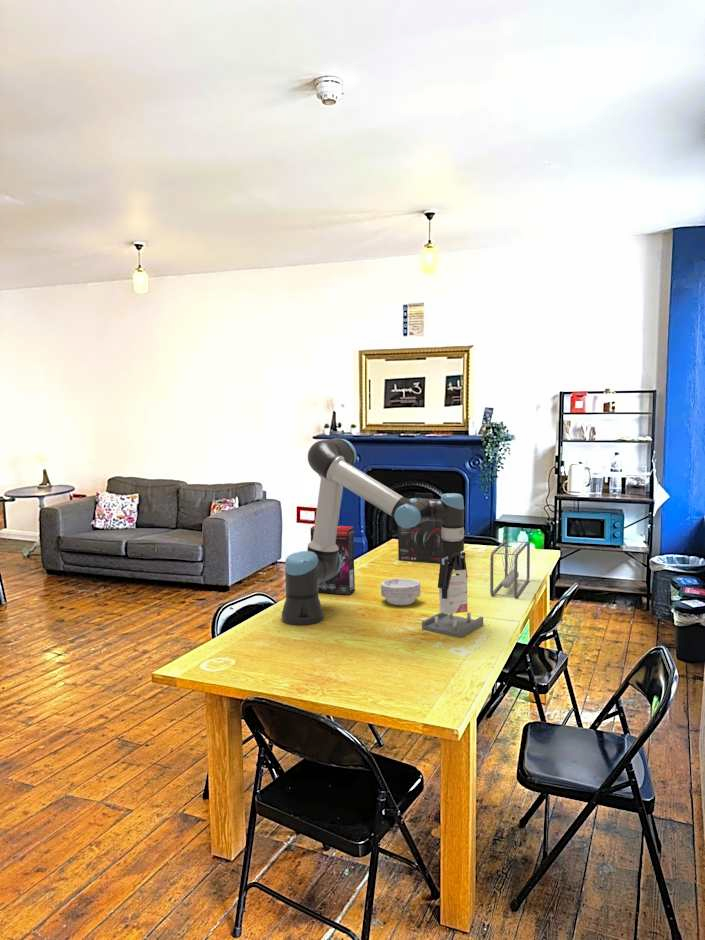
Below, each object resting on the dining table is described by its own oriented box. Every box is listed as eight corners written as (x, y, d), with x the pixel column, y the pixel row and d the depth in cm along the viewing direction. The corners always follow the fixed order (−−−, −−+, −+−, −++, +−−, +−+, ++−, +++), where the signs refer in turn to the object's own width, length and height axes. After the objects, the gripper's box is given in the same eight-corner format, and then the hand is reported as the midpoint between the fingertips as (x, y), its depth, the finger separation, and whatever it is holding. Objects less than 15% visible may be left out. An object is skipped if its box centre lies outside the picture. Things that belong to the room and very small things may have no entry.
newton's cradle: (516, 599, 270) (517, 554, 269) (490, 596, 274) (490, 552, 273) (529, 581, 298) (530, 540, 296) (505, 579, 302) (505, 538, 300)
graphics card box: (310, 592, 284) (309, 527, 282) (317, 588, 291) (315, 524, 288) (350, 595, 279) (348, 529, 276) (355, 591, 285) (354, 526, 283)
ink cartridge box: (461, 608, 241) (461, 566, 240) (467, 612, 236) (467, 569, 235) (438, 610, 239) (438, 568, 237) (444, 614, 234) (444, 571, 233)
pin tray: (461, 637, 227) (461, 625, 227) (422, 629, 236) (421, 617, 236) (483, 624, 240) (483, 612, 240) (445, 617, 249) (445, 605, 249)
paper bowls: (392, 595, 279) (392, 575, 278) (426, 600, 271) (426, 580, 270) (374, 604, 266) (373, 584, 265) (409, 610, 258) (409, 589, 257)
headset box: (396, 560, 340) (396, 493, 336) (404, 555, 351) (404, 490, 348) (446, 564, 330) (445, 495, 327) (452, 558, 342) (452, 492, 339)
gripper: (446, 546, 224) (446, 613, 226) (477, 535, 242) (477, 598, 244) (426, 543, 229) (427, 610, 231) (458, 533, 246) (458, 594, 248)
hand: (453, 603), depth 237 cm, fingers closed on ink cartridge box, 9 cm apart
